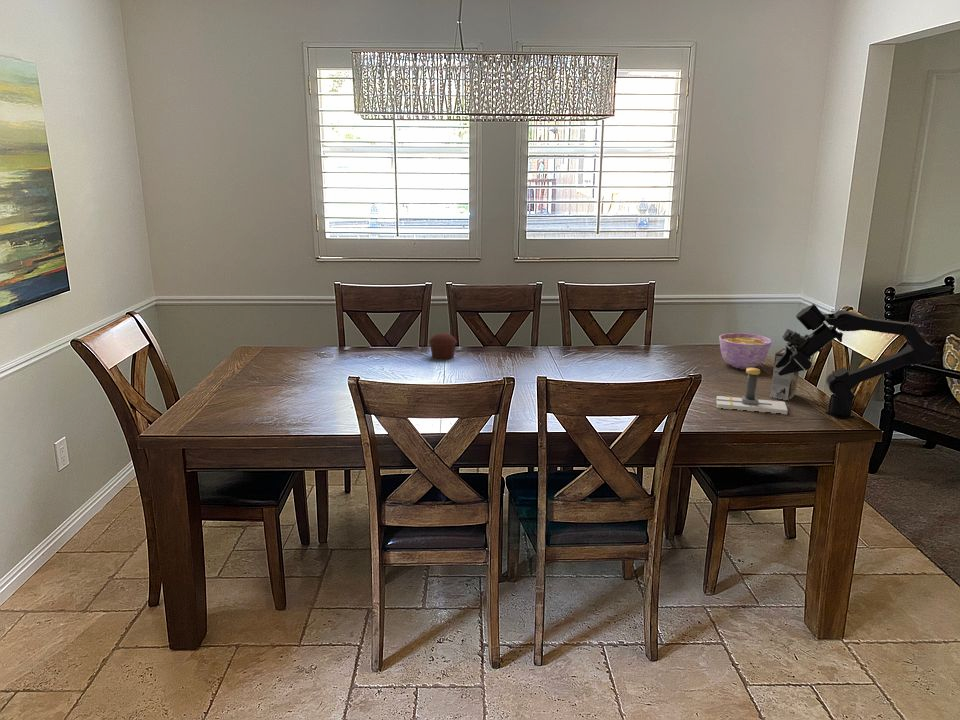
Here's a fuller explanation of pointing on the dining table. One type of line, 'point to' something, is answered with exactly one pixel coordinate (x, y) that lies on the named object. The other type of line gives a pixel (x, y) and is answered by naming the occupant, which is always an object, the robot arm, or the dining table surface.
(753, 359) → the bowl of food
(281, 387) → the dining table surface
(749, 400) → the lever
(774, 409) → the fader console
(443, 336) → the muffin
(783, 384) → the coffee box
